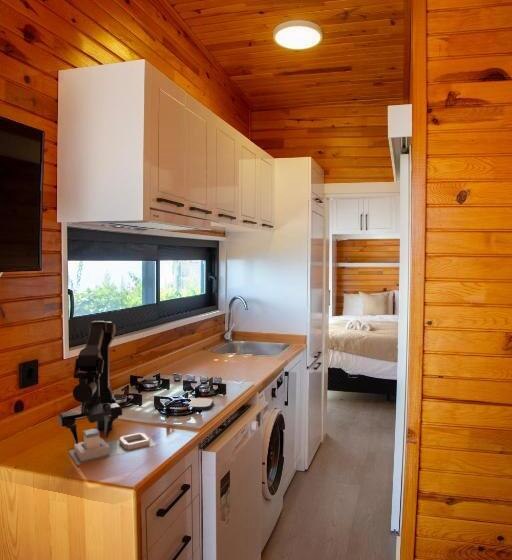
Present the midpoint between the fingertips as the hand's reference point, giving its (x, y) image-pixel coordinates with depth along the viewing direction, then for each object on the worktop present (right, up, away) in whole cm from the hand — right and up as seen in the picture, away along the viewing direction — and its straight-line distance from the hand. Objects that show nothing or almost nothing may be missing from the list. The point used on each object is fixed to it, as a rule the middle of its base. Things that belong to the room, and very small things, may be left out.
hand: (91, 440), depth 157 cm
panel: (+6, -5, +4) cm, 9 cm away
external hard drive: (+22, -2, +50) cm, 55 cm away
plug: (0, -4, 0) cm, 4 cm away
